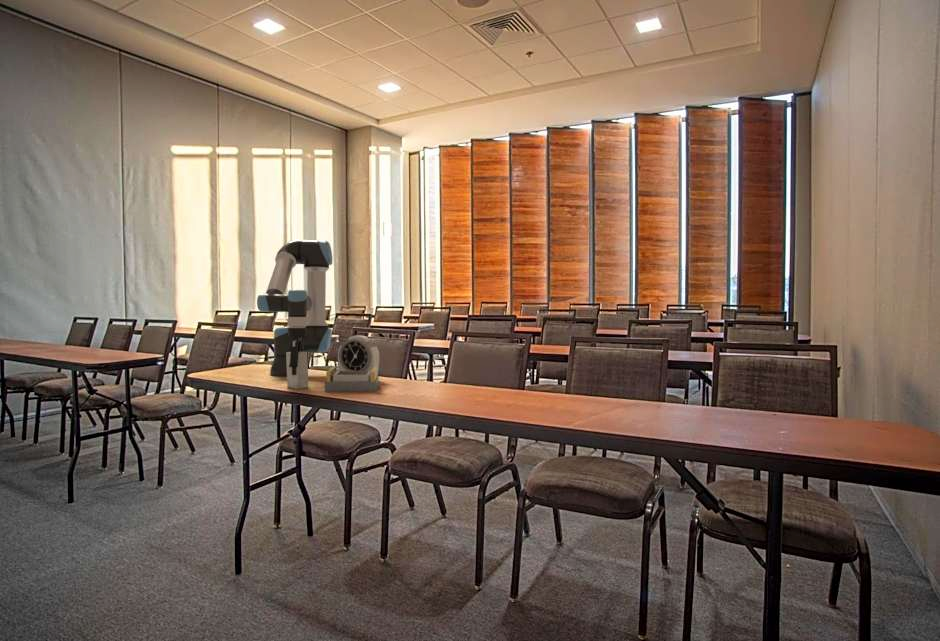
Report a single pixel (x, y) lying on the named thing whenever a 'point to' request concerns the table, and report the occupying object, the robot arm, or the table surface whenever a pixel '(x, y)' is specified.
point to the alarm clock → (358, 355)
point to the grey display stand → (351, 381)
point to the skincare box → (301, 371)
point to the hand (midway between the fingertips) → (297, 380)
